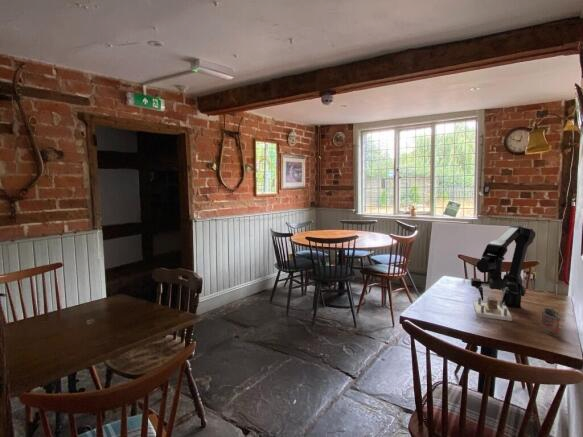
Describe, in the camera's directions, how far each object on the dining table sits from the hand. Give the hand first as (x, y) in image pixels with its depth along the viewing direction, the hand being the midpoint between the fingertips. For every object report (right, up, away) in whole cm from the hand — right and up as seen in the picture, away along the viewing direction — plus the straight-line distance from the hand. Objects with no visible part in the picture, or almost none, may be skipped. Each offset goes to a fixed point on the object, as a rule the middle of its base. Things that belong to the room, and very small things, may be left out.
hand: (492, 302), depth 166 cm
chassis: (0, -5, +1) cm, 5 cm away
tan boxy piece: (0, -4, 0) cm, 4 cm away
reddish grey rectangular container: (+12, -8, -20) cm, 25 cm away
